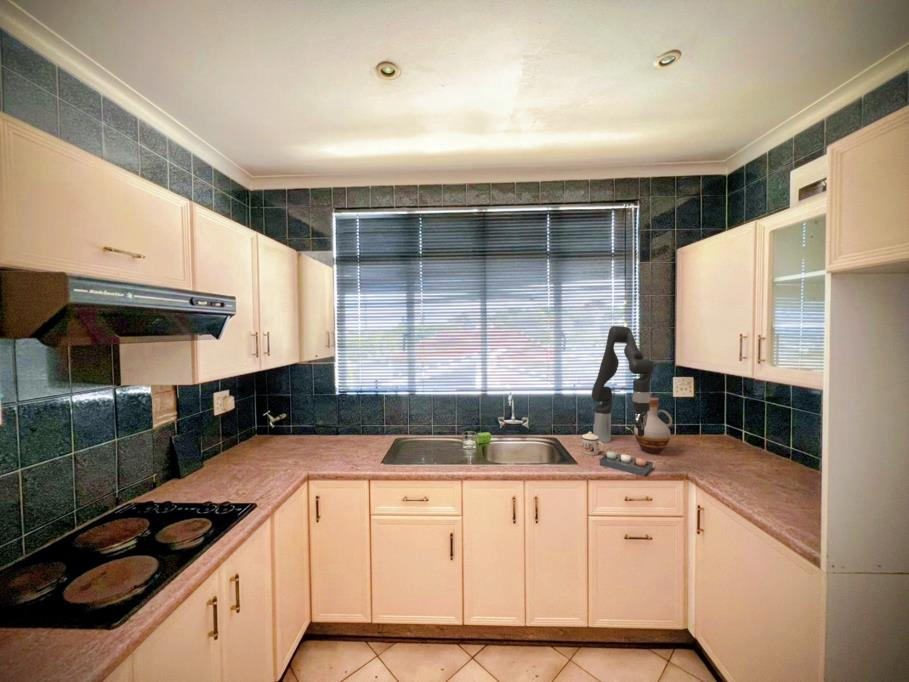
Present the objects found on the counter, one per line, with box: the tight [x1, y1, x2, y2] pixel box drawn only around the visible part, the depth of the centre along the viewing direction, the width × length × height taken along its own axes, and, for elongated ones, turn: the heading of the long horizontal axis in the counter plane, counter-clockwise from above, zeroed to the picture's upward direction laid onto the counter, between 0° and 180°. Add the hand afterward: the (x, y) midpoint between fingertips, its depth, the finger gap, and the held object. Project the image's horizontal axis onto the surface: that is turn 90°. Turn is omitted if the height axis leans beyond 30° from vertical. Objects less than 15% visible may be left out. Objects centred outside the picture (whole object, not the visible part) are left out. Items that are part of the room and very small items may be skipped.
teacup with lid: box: [581, 431, 605, 456], centre depth 199 cm, size 12×9×12 cm
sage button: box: [606, 450, 617, 460], centre depth 184 cm, size 4×4×4 cm
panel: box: [599, 453, 654, 477], centre depth 179 cm, size 21×13×3 cm, turn 46°
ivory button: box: [620, 453, 632, 464], centre depth 179 cm, size 4×4×4 cm
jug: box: [633, 397, 673, 455], centre depth 200 cm, size 20×18×30 cm
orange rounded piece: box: [635, 457, 647, 467], centre depth 174 cm, size 4×4×4 cm
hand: (640, 435), depth 174 cm, fingers closed
